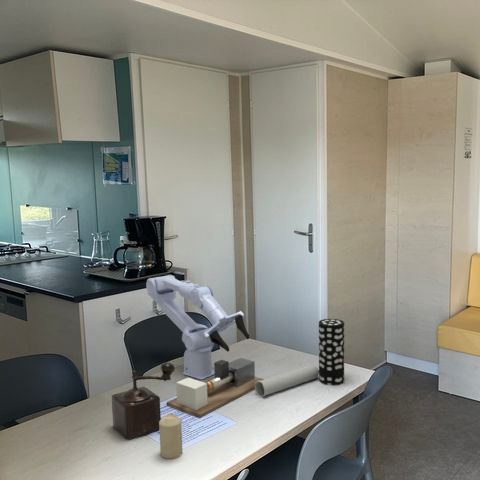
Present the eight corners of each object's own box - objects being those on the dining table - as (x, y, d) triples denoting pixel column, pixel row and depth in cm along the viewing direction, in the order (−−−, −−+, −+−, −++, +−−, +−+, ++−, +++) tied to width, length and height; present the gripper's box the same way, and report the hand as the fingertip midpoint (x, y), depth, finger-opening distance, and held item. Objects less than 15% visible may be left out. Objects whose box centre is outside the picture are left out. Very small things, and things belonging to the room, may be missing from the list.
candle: (161, 448, 142) (159, 411, 141) (182, 447, 142) (181, 410, 141) (160, 459, 136) (158, 421, 135) (182, 458, 137) (180, 420, 136)
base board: (166, 405, 167) (166, 402, 167) (235, 373, 192) (234, 370, 192) (199, 417, 159) (199, 414, 158) (267, 382, 183) (267, 380, 183)
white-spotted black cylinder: (345, 377, 186) (346, 319, 183) (342, 386, 178) (342, 326, 176) (321, 374, 189) (321, 318, 186) (316, 383, 181) (316, 324, 178)
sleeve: (223, 383, 181) (222, 365, 180) (241, 374, 188) (240, 357, 187) (237, 387, 177) (236, 369, 176) (254, 378, 184) (254, 361, 183)
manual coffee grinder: (128, 441, 146) (125, 376, 143) (112, 426, 155) (108, 365, 152) (179, 424, 155) (177, 363, 152) (161, 411, 164) (158, 352, 161)
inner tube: (203, 390, 172) (202, 367, 171) (242, 372, 186) (241, 350, 185) (210, 393, 170) (209, 369, 169) (249, 374, 184) (249, 352, 183)
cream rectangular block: (177, 403, 167) (176, 382, 166) (188, 397, 170) (188, 377, 169) (195, 410, 161) (195, 388, 161) (207, 404, 165) (206, 383, 164)
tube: (309, 363, 190) (252, 380, 175) (320, 362, 185) (262, 380, 170) (313, 378, 189) (256, 397, 174) (323, 378, 185) (266, 397, 170)
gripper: (195, 318, 176) (218, 349, 169) (233, 296, 181) (256, 325, 174) (197, 330, 182) (219, 360, 174) (234, 308, 187) (257, 336, 179)
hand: (238, 343), depth 174 cm, fingers open, 7 cm apart
